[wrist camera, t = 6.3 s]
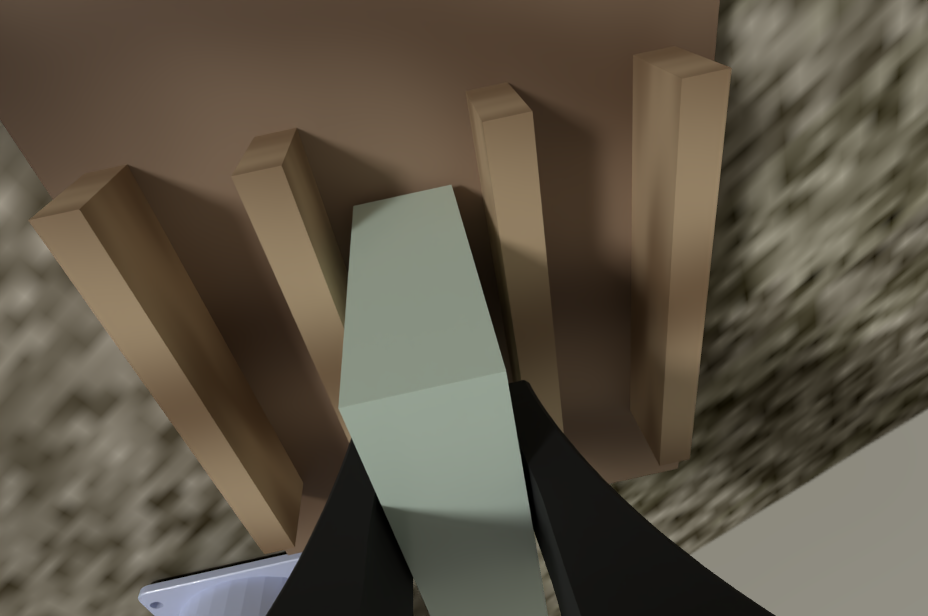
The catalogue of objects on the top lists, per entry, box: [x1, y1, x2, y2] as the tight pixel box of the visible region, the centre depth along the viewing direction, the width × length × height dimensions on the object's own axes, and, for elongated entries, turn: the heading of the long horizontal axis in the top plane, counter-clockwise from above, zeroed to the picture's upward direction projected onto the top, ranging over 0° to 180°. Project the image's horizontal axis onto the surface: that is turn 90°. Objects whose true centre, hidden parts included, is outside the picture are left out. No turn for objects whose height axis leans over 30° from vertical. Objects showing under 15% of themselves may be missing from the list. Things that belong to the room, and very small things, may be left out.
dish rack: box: [0, 0, 732, 555], centre depth 16 cm, size 20×16×4 cm
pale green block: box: [338, 185, 548, 616], centre depth 13 cm, size 8×2×7 cm, turn 10°
